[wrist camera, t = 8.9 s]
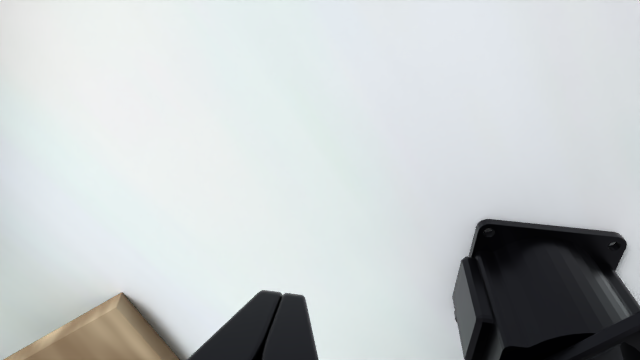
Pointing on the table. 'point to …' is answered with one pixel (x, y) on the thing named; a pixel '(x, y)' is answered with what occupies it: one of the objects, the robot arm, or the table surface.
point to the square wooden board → (101, 337)
